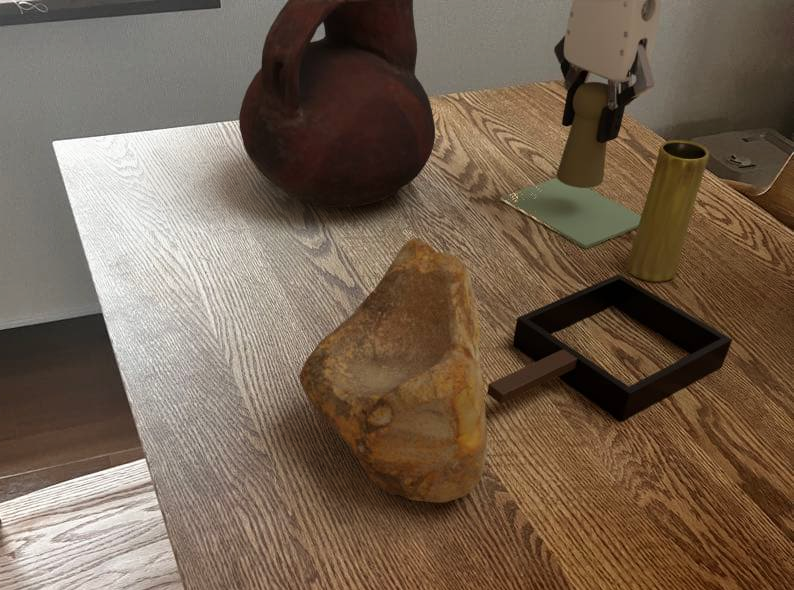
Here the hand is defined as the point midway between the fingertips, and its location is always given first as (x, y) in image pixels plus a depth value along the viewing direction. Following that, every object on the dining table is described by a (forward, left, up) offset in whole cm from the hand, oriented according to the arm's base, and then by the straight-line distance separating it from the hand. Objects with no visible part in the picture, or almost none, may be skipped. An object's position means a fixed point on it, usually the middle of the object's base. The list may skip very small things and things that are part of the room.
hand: (589, 130), depth 102 cm
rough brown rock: (+47, +22, -11) cm, 53 cm away
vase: (+3, +16, -11) cm, 19 cm away
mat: (0, 0, -10) cm, 10 cm away
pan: (+25, +26, -10) cm, 38 cm away
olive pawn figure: (0, 0, -6) cm, 6 cm away
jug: (+22, -23, -11) cm, 34 cm away
